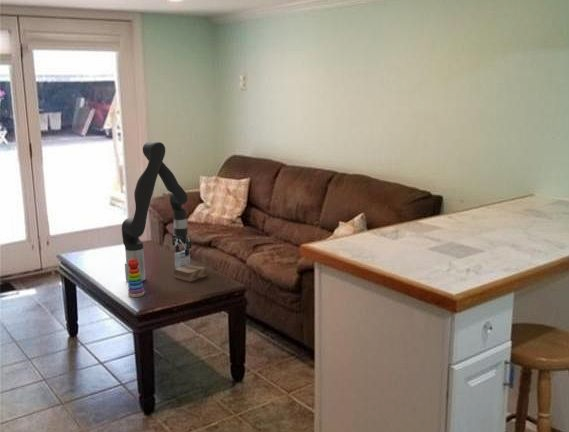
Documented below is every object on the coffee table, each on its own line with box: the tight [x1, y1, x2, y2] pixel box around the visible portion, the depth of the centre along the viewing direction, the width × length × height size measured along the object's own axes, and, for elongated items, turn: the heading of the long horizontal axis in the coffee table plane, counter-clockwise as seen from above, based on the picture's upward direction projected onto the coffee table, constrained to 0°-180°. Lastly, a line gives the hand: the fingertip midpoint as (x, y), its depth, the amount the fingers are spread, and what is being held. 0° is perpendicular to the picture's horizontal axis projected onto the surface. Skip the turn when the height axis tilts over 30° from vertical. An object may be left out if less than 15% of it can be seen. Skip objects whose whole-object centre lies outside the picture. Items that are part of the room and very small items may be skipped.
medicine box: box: [173, 249, 191, 269], centre depth 343 cm, size 8×4×9 cm, turn 143°
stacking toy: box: [127, 258, 145, 298], centre depth 296 cm, size 8×8×19 cm
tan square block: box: [173, 263, 207, 283], centre depth 325 cm, size 12×12×5 cm
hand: (182, 254), depth 343 cm, fingers open, 8 cm apart
